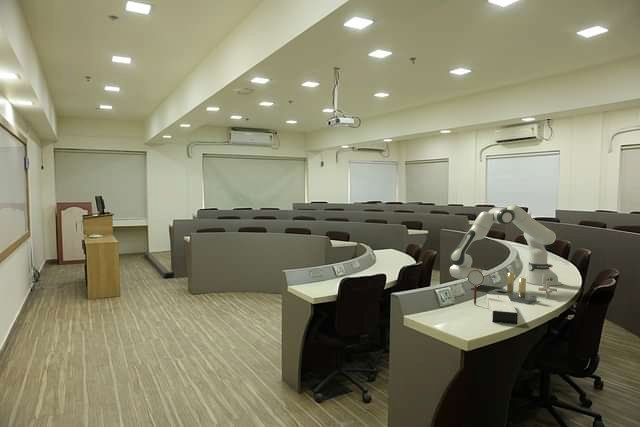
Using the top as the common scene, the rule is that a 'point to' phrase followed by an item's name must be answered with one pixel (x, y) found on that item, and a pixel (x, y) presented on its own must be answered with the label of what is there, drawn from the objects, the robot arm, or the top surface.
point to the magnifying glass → (475, 280)
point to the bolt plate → (515, 296)
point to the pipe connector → (547, 289)
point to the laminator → (501, 309)
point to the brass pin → (510, 281)
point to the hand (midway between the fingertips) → (492, 277)
